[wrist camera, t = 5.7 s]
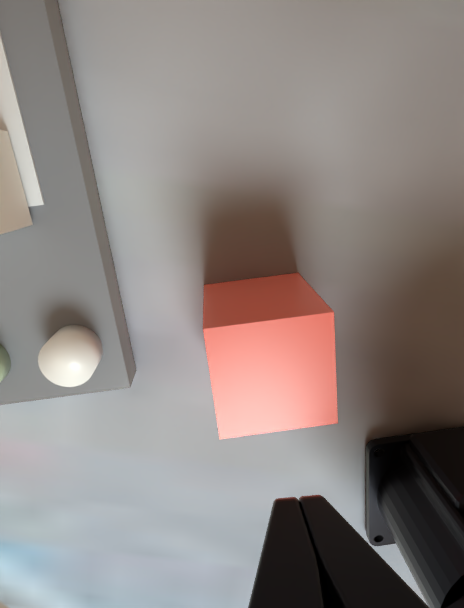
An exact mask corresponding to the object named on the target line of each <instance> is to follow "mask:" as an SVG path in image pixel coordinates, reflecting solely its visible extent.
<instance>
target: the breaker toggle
mask: <svg viewBox="0 0 464 608" xmlns="http://www.w3.org/2000/svg"><path fill="white" fill-rule="evenodd" d="M30 225H33V223H32V219H31V216H30V212H29V208H28V205H27V201H26V197H25V194H24V190H23V186H22V182H21V179H20V175H19V171H18V168H17V164H16V160H15V157H14V153H13V149H12V146H11V142H10V138H9V135H8V131H4V130H0V234H4V233H7V232H10V231H14V230H17V229H20V228H24V227H27V226H30Z"/></svg>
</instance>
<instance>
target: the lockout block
mask: <svg viewBox="0 0 464 608" xmlns="http://www.w3.org/2000/svg"><path fill="white" fill-rule="evenodd" d="M203 332H204V339H205V346H206V352H207V359H208V366H209V372H210V379H211V386H212V392H213V399H214V406H215V412H216V419H217V426H218V432H219V439H227V438H234V437H242V436H249V435H256V434H264V433H271V432H278V431H285V430H293V429H300V428H307V427H314V426H322V425H329V424H336V423H338V414H337V385H336V356H335V328H334V311H333V310H332V309H331V308H330V307H329V306H328V305H327V304H326V303H325V302H324V301H323V299H322V298H321V297H320V296H319V295H318V294H317V293H316V292H315V291H314V290H313V289H312V287H311V286H310V285H309V284H308V283H307V282H306V281H305V280H304V279H303V278H302V276H301V275H300V274H299V273H291V274H284V275H276V276H268V277H260V278H252V279H245V280H237V281H229V282H221V283H214V284H206V285H204V300H203Z"/></svg>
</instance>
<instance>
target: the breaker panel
mask: <svg viewBox="0 0 464 608" xmlns="http://www.w3.org/2000/svg"><path fill="white" fill-rule="evenodd" d="M0 130H4V131H8V135H9V138H10V142H11V146H12V149H13V153H14V157H15V160H16V164H17V168H18V171H19V175H20V179H21V182H22V186H23V190H24V194H25V197H26V201H27V205H28V208H29V212H30V216H31V219H32V223H33V225H30V226H27V227H24V228H20V229H17V230H14V231H10V232H7V233H4V234H0V405H4V404H11V403H19V402H26V401H34V400H41V399H49V398H56V397H64V396H71V395H79V394H86V393H94V392H101V391H109V390H117V389H124V388H130V387H131V384H132V381H133V378H134V375H135V372H136V367H135V362H134V358H133V353H132V348H131V344H130V339H129V334H128V330H127V325H126V320H125V316H124V311H123V306H122V302H121V297H120V292H119V288H118V283H117V278H116V274H115V269H114V264H113V259H112V255H111V250H110V245H109V241H108V236H107V231H106V227H105V222H104V217H103V213H102V208H101V203H100V199H99V194H98V189H97V185H96V180H95V175H94V171H93V166H92V161H91V157H90V152H89V147H88V143H87V138H86V133H85V128H84V124H83V119H82V114H81V110H80V105H79V100H78V96H77V91H76V86H75V82H74V77H73V72H72V68H71V63H70V58H69V54H68V49H67V44H66V40H65V35H64V30H63V26H62V21H61V16H60V12H59V7H58V2H57V0H0Z"/></svg>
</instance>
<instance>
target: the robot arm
mask: <svg viewBox="0 0 464 608" xmlns="http://www.w3.org/2000/svg"><path fill="white" fill-rule="evenodd" d="M379 448H380V450H379V451H377V452H375V450H376V449H379ZM366 534H367V537H368V539H369V541H370V543H371V544H372V545H374V546H381V545H388V544H395V543H396V544H397V546H398V548H399V550H400V552H401V554H402V556H403V558H404V560H405V562H406V564H407V565H408V567H409V569H410V571H411V573H412V575H413V577H414V579H415V581H416V583H417V585H418V587H419V589H420V591H421V593H422V595H423V597H424V599H425V600H426V602H427V604H428V606H429V607H428V606H427V605H426V604H425V603H424V602H423V600H422V599H421V598H420V597H419V596H418V595H417V594H416V593H415V592H414V591H413V590H412V589H411V588H410V587H409V586H408V585H407V584H406V583H405V582H404V581H403V580H402V579H401V577H400V576H399V575H398V574H397V573H396V572H395V571H394V570H393V569H392V568H391V567H390V566H389V565H388V564H387V563H386V562H385V561H384V560H383V559H382V558H381V557H380V556H379V554H378V553H377V552H376V551H375V550H374V549H373V548H372V547H371V546H370V545H369V544H368V543H367V542H366V541H365V540H364V539H363V538H362V537H361V536H360V535H359V534H358V533H357V531H356V530H355V529H354V528H353V527H352V526H351V525H350V524H349V523H348V522H347V521H346V520H345V519H344V518H343V517H342V516H341V515H340V514H339V513H338V512H337V511H336V510H335V508H334V507H333V506H332V505H331V504H330V503H329V502H328V501H327V500H326V499H325V498H324V497H323V496H321V495H312V496H302V497H300V498H299V500H298V499H297V498H295V497H289V498H278V499H276V500H275V501H274V503H273V507H272V511H271V515H270V519H269V523H268V528H267V532H266V536H265V540H264V544H263V549H262V553H261V557H260V561H259V565H258V569H257V574H256V578H255V582H254V586H253V590H252V594H251V599H250V603H249V607H248V608H464V427H459V428H452V429H444V430H437V431H430V432H423V433H415V434H408V435H401V436H394V437H386V438H379V439H374V440H371V441H370V442H369V443H368V444H367V446H366Z"/></svg>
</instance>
